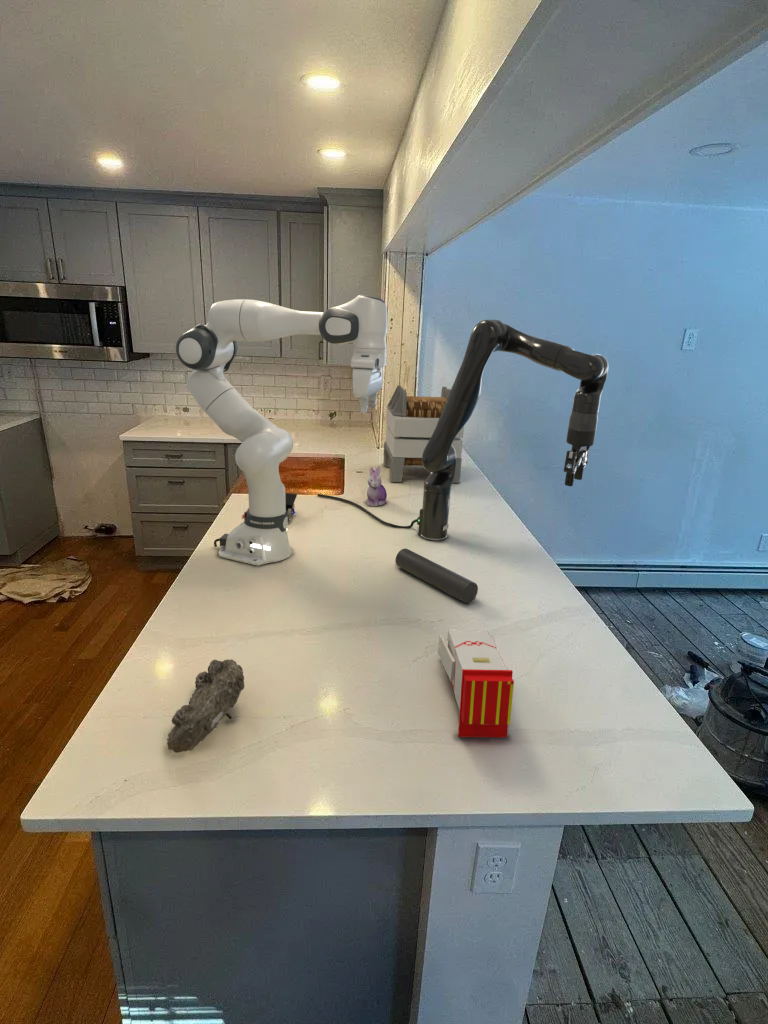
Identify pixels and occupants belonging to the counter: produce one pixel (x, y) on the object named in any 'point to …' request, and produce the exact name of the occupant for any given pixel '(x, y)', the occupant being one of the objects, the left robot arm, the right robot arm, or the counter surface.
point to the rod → (437, 575)
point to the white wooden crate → (414, 431)
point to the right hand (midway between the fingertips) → (573, 482)
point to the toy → (478, 682)
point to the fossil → (206, 705)
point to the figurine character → (290, 504)
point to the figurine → (375, 489)
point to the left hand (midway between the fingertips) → (368, 410)
